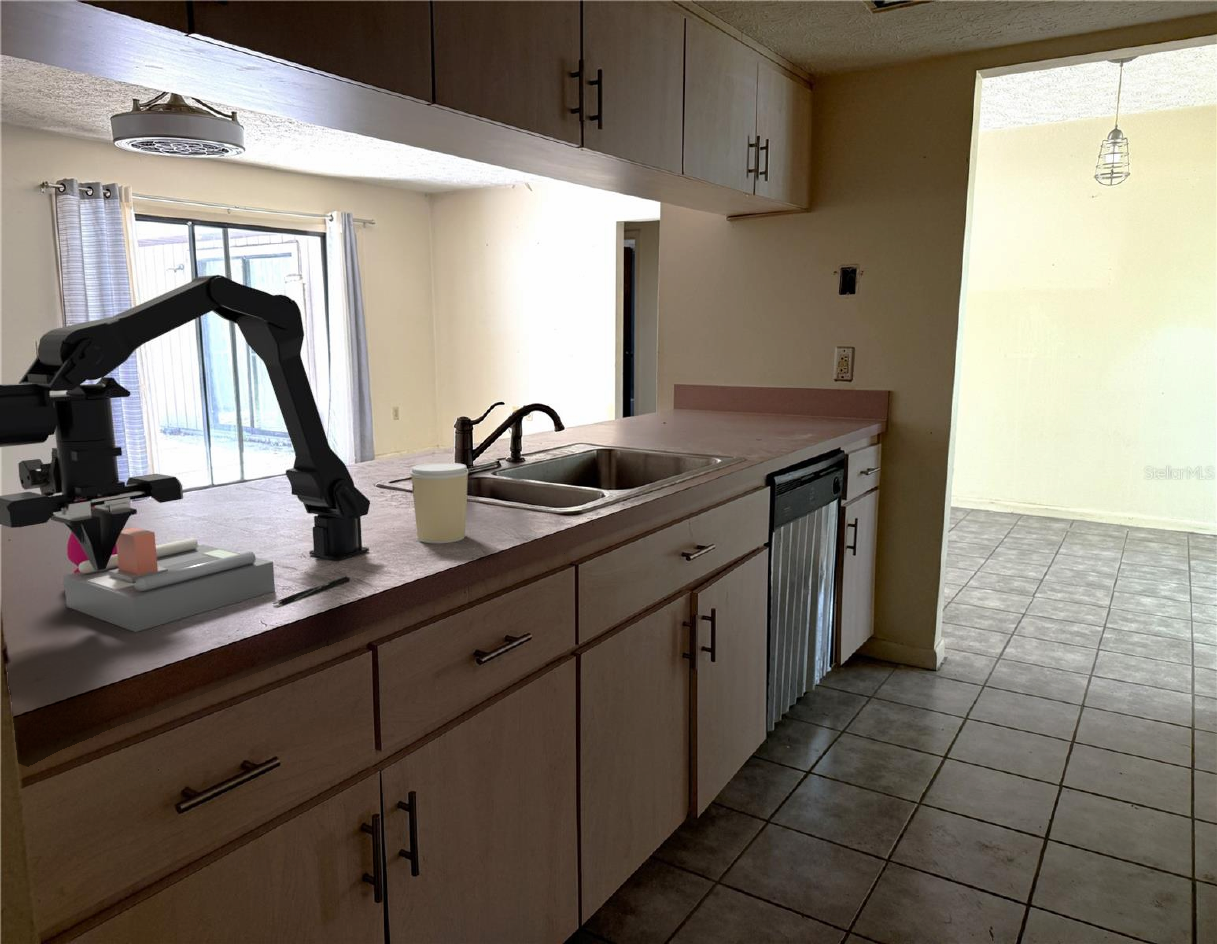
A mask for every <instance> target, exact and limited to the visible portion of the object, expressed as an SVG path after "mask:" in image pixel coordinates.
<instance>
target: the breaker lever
mask: <svg viewBox="0 0 1217 944" xmlns="http://www.w3.org/2000/svg"><path fill="white" fill-rule="evenodd" d="M116 546H117V556H118V566H119V569H115V570H110V571H109V576H112V577H115V578H119V579H122V580H125V581H128V582H131V583H132V582H136V580H138V579H140V578H143V577H147V576H151V575H155V574H160V573H164V572H168V569H166V568H163V567H159V566H157V555H156V546H157V544H156V535H155V531H151V530H146V529H142V528H138V527H131V528H126V529H123V530H122V532H121V533H120V535H119V537H118V540H117V542H116Z"/></svg>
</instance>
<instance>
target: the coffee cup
mask: <svg viewBox="0 0 1217 944" xmlns="http://www.w3.org/2000/svg"><path fill="white" fill-rule="evenodd" d="M409 472H410V477H411V485H412V486H411V487H412V497H413V498H412V499H413V506H414V507H413V508H414V516H415V525H416V526H415V527H416V533H417V534H416V535H417V539H418V541H419V542H423V543H426V544H427V543H428V544H450V543H455V542H458V541H461V540H463V539H464V538H465V536H466V528H467V527H466V525H467V506H468V505H467V499H468V497H467V496H468V475H469V469H468V468H467V465H466V464H465V463H464V464H463V463H459V462H429V463H420V464H417V465H414V466H412V467H411V470H410V471H409Z"/></svg>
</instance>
